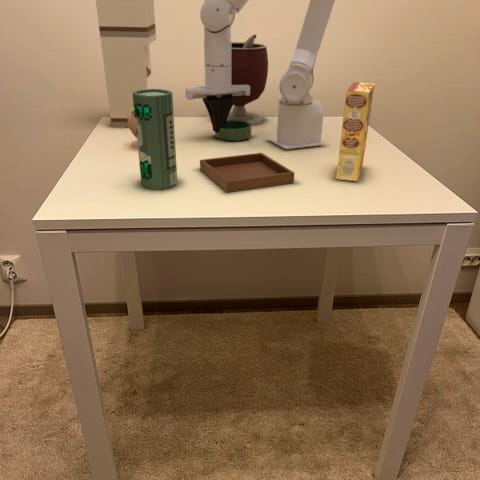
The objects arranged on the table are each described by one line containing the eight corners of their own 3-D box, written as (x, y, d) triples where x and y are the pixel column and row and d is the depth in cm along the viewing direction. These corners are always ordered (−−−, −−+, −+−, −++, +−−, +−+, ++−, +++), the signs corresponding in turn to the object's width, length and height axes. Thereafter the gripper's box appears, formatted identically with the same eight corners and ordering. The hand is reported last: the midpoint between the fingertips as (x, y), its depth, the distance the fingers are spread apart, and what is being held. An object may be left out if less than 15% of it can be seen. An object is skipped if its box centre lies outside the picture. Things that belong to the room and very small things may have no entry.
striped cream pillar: (155, 127, 120) (141, -52, 100) (111, 126, 120) (89, -53, 100) (161, 116, 130) (149, -49, 110) (121, 116, 130) (102, -50, 110)
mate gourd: (205, 116, 131) (203, 29, 120) (252, 112, 136) (254, 28, 124) (226, 130, 120) (226, 35, 108) (277, 125, 124) (282, 33, 113)
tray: (261, 162, 99) (261, 152, 98) (293, 182, 89) (294, 172, 88) (200, 169, 95) (199, 159, 94) (226, 192, 85) (226, 181, 84)
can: (145, 177, 91) (137, 88, 82) (178, 178, 90) (173, 89, 82) (139, 189, 86) (129, 95, 77) (174, 190, 85) (168, 96, 77)
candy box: (357, 182, 90) (371, 91, 81) (334, 179, 91) (346, 89, 82) (362, 168, 97) (376, 83, 88) (341, 165, 98) (352, 81, 89)
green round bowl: (242, 129, 119) (242, 118, 117) (257, 138, 113) (257, 126, 111) (211, 133, 116) (210, 122, 115) (224, 142, 110) (224, 130, 109)
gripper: (241, 60, 110) (240, 124, 118) (179, 63, 105) (182, 130, 113) (255, 65, 105) (253, 131, 113) (190, 68, 100) (193, 137, 108)
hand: (218, 131), depth 112 cm, fingers closed on green round bowl, 1 cm apart
